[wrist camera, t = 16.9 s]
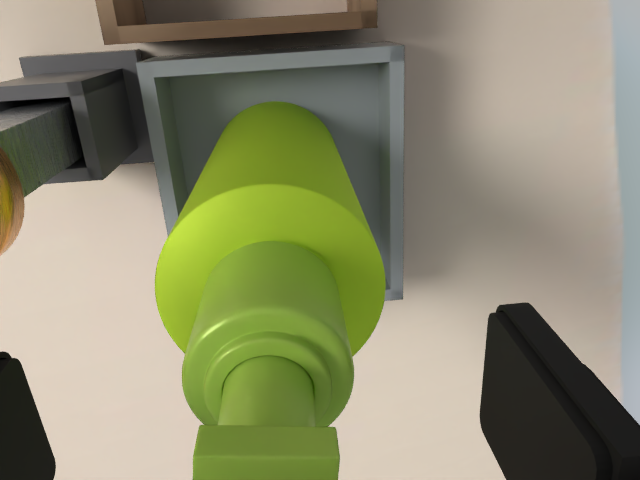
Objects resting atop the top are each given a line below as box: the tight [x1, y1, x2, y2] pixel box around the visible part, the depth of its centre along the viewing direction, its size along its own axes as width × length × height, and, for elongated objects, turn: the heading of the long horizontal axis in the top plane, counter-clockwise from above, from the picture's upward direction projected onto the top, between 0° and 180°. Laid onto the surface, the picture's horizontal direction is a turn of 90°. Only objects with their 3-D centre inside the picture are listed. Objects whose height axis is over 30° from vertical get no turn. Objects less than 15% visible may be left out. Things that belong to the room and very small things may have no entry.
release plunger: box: [0, 97, 84, 256], centre depth 18 cm, size 4×4×13 cm
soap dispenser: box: [155, 101, 386, 480], centre depth 16 cm, size 6×7×20 cm
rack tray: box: [136, 42, 404, 301], centre depth 25 cm, size 12×11×4 cm
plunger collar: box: [0, 49, 154, 184], centre depth 22 cm, size 5×5×6 cm
